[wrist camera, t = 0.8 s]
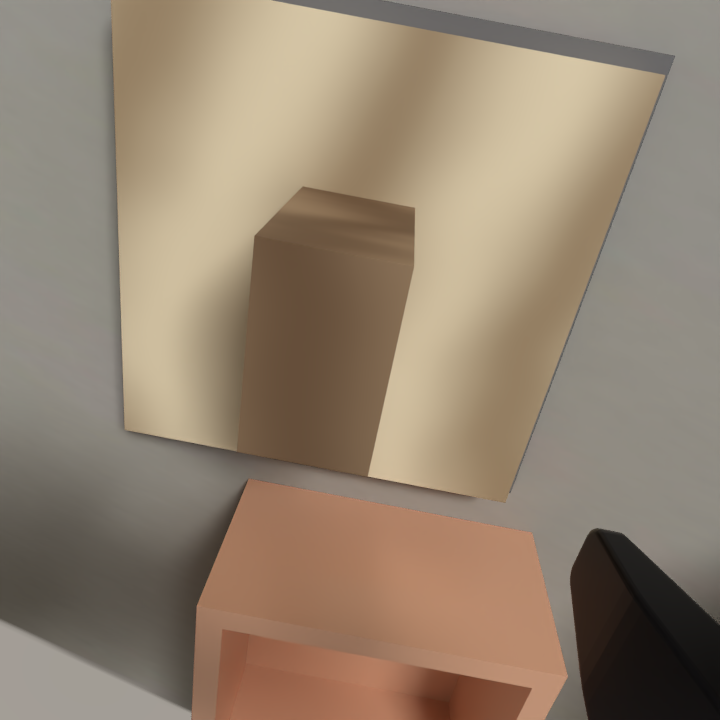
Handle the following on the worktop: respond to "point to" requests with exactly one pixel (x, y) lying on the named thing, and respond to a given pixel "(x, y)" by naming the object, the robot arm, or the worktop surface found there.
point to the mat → (370, 5)
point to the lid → (355, 233)
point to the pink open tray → (371, 616)
